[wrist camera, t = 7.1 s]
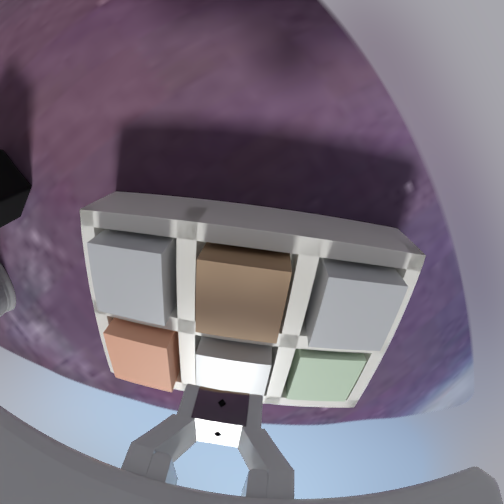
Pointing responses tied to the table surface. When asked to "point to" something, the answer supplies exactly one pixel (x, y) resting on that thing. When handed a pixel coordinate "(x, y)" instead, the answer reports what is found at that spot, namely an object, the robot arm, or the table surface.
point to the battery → (11, 190)
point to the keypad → (259, 237)
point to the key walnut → (241, 292)
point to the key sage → (323, 375)
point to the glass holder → (6, 292)
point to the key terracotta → (143, 353)
